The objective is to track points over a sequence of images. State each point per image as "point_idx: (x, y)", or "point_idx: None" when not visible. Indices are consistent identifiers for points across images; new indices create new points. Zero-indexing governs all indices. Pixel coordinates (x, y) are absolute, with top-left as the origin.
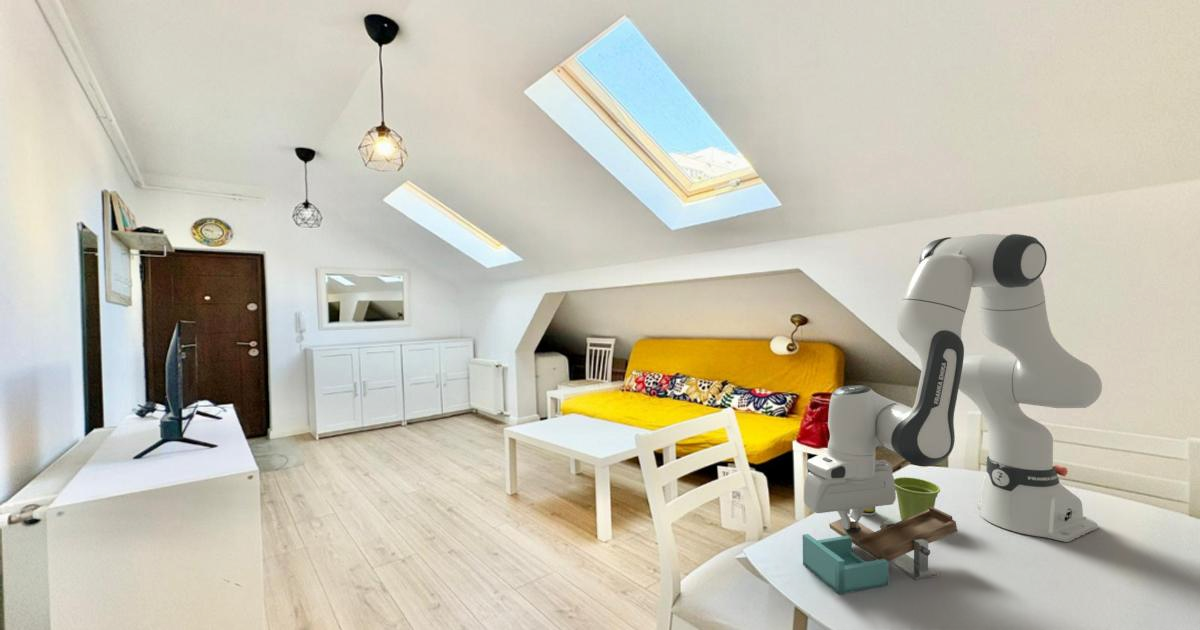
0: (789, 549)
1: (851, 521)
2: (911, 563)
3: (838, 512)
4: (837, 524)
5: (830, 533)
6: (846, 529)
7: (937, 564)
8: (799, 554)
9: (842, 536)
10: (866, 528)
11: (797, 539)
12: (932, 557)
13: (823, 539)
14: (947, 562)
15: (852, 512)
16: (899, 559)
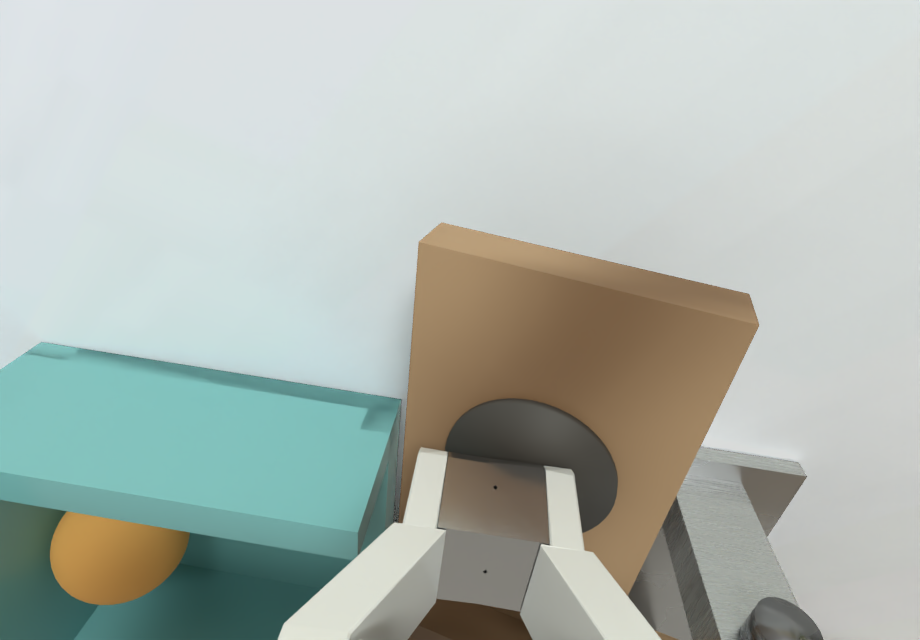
0: (4, 153)
1: (452, 599)
2: (666, 595)
3: (312, 606)
4: (479, 324)
5: (588, 60)
6: (459, 448)
7: (814, 620)
8: (64, 245)
9: (290, 525)
10: (623, 562)
11: (150, 23)
12: (889, 588)
13: (88, 489)
14: (890, 632)
15: (584, 626)
16: (651, 557)
